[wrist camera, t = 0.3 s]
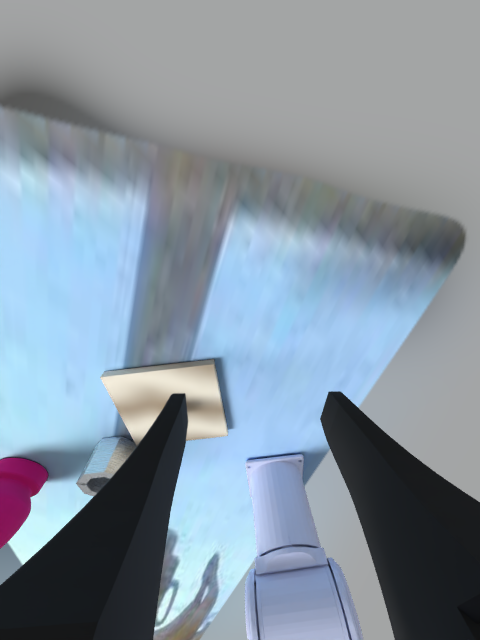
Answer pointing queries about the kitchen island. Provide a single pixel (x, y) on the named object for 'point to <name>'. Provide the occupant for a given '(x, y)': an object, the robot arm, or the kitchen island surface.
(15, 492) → the pepper mill
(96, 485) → the collar
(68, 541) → the robot arm
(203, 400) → the post block
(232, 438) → the kitchen island surface
